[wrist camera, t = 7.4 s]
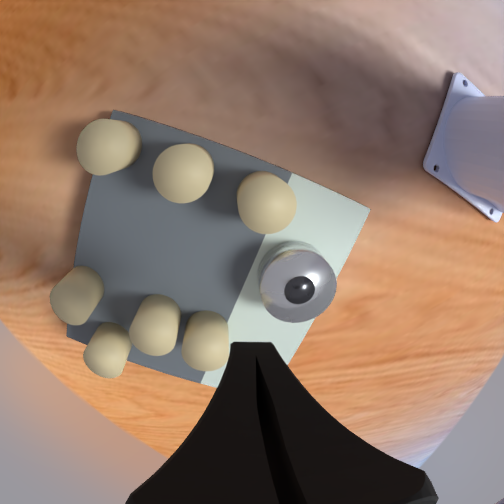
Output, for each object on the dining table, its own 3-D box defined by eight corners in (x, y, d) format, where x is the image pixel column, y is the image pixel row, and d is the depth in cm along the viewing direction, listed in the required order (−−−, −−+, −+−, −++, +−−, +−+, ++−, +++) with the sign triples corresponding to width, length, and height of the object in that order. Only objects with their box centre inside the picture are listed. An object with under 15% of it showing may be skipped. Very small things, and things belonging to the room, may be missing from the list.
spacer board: (360, 203, 18) (390, 220, 14) (264, 385, 23) (270, 424, 19) (117, 110, 15) (89, 104, 11) (70, 323, 20) (48, 355, 16)
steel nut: (334, 248, 17) (347, 262, 15) (313, 309, 19) (322, 327, 17) (267, 233, 17) (272, 246, 15) (249, 298, 18) (252, 317, 16)
